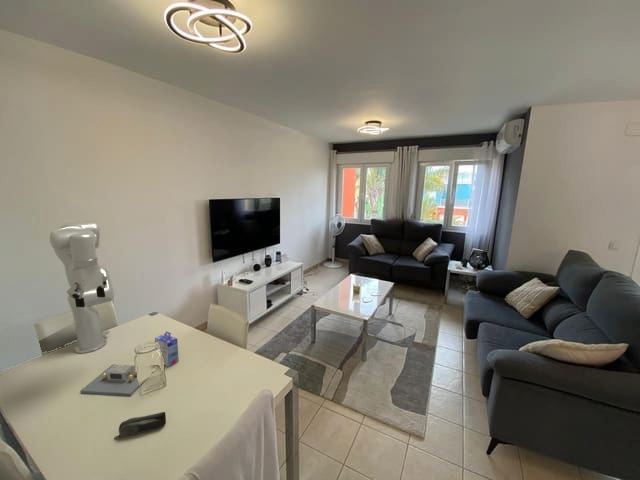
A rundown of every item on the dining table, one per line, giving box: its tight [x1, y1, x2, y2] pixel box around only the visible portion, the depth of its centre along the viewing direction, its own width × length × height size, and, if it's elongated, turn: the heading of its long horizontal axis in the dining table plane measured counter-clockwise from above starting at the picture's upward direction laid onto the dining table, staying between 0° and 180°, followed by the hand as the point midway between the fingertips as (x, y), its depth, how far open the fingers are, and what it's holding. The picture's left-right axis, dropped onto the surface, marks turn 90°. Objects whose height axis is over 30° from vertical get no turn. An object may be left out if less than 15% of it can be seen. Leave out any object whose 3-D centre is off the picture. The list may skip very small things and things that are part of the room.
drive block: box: [106, 364, 134, 382], centre depth 112 cm, size 5×8×5 cm, turn 88°
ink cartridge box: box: [154, 330, 180, 368], centre depth 125 cm, size 10×6×14 cm, turn 64°
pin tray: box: [79, 363, 140, 397], centre depth 113 cm, size 16×21×4 cm
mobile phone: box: [113, 411, 167, 440], centre depth 90 cm, size 5×3×15 cm
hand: (91, 301), depth 111 cm, fingers open, 9 cm apart
